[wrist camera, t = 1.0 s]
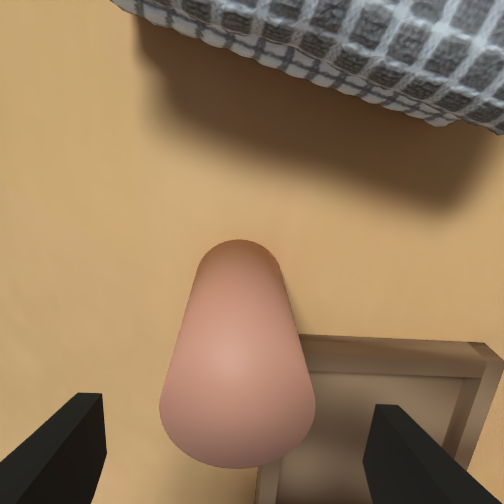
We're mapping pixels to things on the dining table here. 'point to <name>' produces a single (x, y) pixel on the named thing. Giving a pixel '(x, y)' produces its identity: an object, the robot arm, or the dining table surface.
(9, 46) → the dining table surface
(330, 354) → the tray
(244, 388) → the dowel
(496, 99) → the towel
